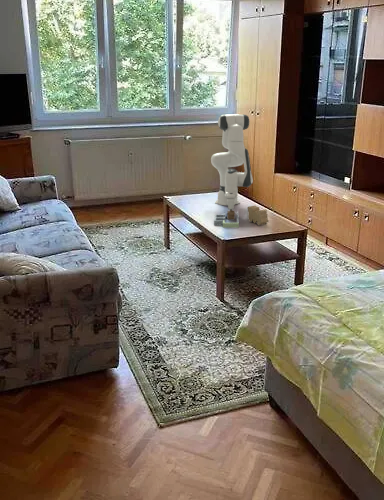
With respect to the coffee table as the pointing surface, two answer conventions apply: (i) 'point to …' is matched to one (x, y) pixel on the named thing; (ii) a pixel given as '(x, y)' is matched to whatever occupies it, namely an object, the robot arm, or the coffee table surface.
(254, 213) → the toy train
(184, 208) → the coffee table surface
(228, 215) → the block
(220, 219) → the trap lane
